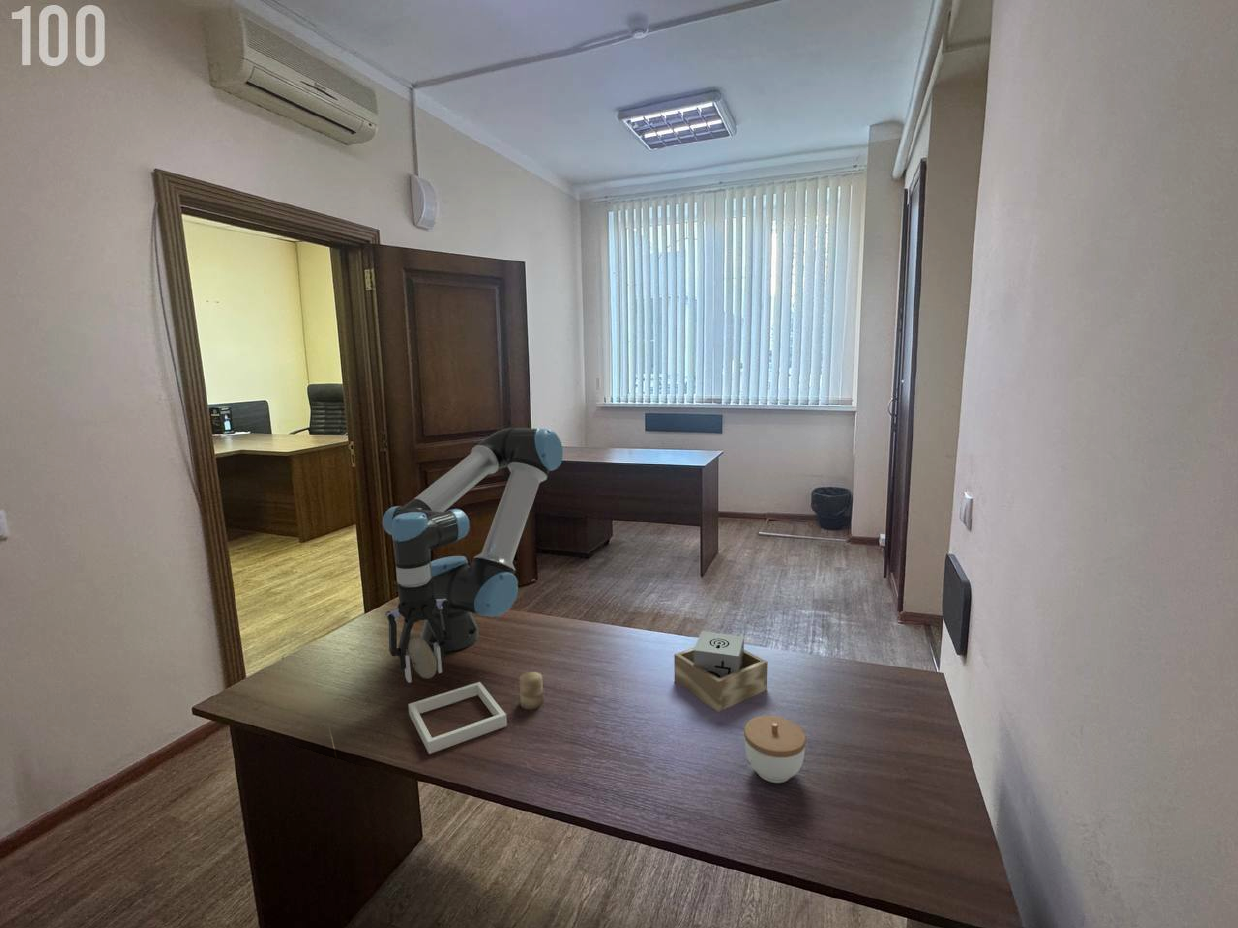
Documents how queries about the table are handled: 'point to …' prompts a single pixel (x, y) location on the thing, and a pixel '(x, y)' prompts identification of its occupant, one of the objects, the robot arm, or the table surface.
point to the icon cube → (719, 653)
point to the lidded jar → (774, 747)
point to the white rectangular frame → (461, 733)
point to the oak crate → (721, 680)
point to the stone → (421, 657)
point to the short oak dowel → (531, 690)
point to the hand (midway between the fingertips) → (424, 674)
